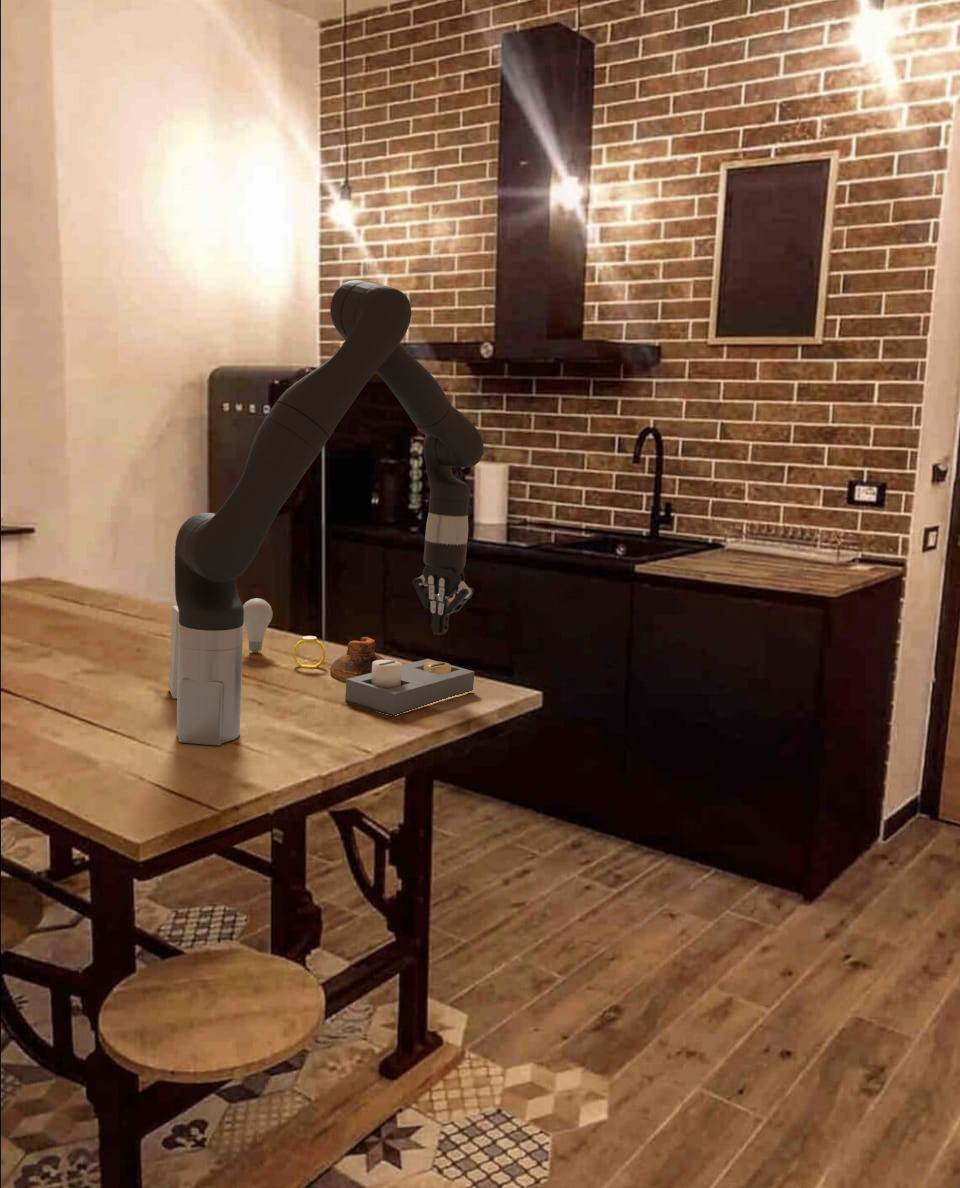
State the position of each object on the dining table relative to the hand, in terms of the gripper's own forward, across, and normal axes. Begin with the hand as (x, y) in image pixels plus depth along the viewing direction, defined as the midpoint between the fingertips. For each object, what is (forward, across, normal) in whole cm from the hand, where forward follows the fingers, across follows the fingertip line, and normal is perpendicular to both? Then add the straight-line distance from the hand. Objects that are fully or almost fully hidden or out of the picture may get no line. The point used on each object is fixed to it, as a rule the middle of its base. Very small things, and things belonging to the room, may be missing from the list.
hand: (439, 633), depth 183 cm
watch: (+11, +25, +7) cm, 28 cm away
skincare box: (+11, +25, +34) cm, 43 cm away
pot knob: (+7, 0, +14) cm, 16 cm away
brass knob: (+10, 0, 0) cm, 10 cm away
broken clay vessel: (+11, +15, +3) cm, 19 cm away
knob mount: (+11, 0, +7) cm, 13 cm away
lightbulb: (+11, +39, +8) cm, 41 cm away
